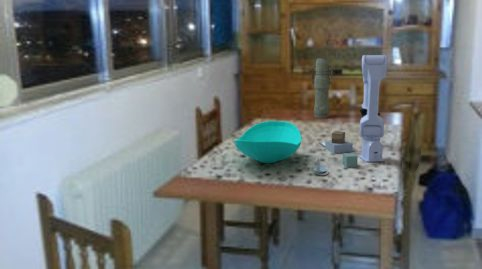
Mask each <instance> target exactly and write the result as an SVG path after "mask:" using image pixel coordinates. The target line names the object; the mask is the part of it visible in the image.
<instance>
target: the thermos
mask: <svg viewBox="0 0 482 269" xmlns="http://www.w3.org/2000/svg"><path fill="white" fill-rule="evenodd" d="M314 69H315V70H314ZM329 70H330V74H329ZM314 72H315V76H314ZM329 75H330V76H329ZM311 83H312V84H314V86H313V88H314V107H313V115H314V116H313V117H315V118H314V119H317V118H326V119H329V118H330V117H329V116H330V115H329V114H330V106H329V93H330V92H329V91H330V90H329V89H330V85H332V84H333V67H332V65H330V61H329V58H327V57H323V56H321V57H318V58H316V62H315V65H313V66H312V68H311ZM328 117H329V118H328Z"/></svg>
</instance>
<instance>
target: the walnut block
mask: <svg viewBox="0 0 482 269" xmlns="http://www.w3.org/2000/svg"><path fill="white" fill-rule="evenodd" d="M331 140H332V143H337V144H342V143H344V142H345V140H346V131H339V130H335V131H332V132H331Z"/></svg>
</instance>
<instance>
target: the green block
mask: <svg viewBox="0 0 482 269" xmlns="http://www.w3.org/2000/svg"><path fill="white" fill-rule="evenodd" d="M358 158H359V155H357V154H355V153H354V152H345V153H342V165H343V166H344V167H346V168H355V167H358Z"/></svg>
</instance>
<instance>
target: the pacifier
mask: <svg viewBox="0 0 482 269" xmlns="http://www.w3.org/2000/svg"><path fill="white" fill-rule="evenodd" d="M314 163H315V167H314V168H313V170H312V171H311V172H312V173H315V175H317V174H318V175H319V176H326V175H328V174H329V173H330V172H329V171H328V170H327V168H326V167H325V166H324V165H322V164H321V162H320V159H319V157H317V158H316V159H315V160H314Z"/></svg>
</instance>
